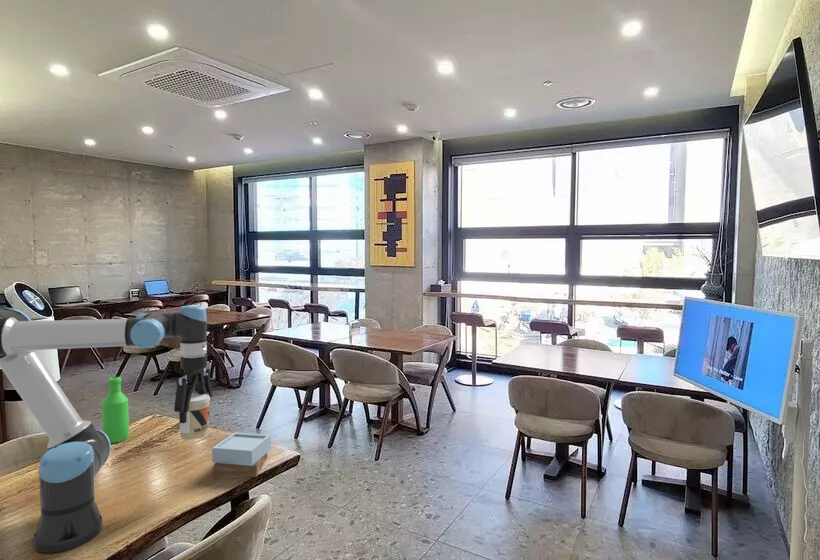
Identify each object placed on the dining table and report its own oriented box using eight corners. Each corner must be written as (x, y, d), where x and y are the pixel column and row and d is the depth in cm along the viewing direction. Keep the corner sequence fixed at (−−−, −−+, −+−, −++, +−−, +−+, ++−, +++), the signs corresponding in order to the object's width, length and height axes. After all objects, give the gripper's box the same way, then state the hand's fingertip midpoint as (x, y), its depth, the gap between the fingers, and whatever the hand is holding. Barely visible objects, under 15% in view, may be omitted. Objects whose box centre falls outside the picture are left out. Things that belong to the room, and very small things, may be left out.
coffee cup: (195, 442, 143) (194, 403, 142) (170, 438, 146) (170, 399, 145) (217, 432, 151) (216, 394, 151) (193, 428, 154) (193, 391, 154)
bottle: (127, 434, 195) (125, 374, 194) (131, 440, 188) (129, 378, 187) (101, 439, 189) (99, 377, 188) (104, 446, 183) (103, 382, 181)
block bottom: (256, 479, 157) (256, 464, 156) (213, 480, 156) (213, 465, 156) (267, 461, 171) (267, 447, 170) (227, 462, 170) (227, 448, 170)
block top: (251, 465, 155) (251, 450, 155) (212, 462, 158) (212, 447, 157) (270, 448, 169) (270, 435, 169) (234, 446, 172) (234, 432, 171)
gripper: (182, 363, 136) (183, 440, 137) (223, 349, 157) (224, 416, 158) (159, 362, 137) (160, 439, 138) (203, 348, 159) (203, 415, 160)
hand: (194, 427), depth 148 cm, fingers closed on coffee cup, 9 cm apart
